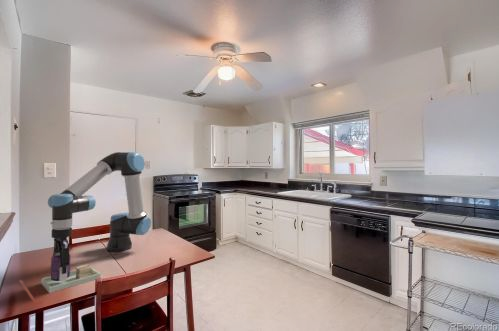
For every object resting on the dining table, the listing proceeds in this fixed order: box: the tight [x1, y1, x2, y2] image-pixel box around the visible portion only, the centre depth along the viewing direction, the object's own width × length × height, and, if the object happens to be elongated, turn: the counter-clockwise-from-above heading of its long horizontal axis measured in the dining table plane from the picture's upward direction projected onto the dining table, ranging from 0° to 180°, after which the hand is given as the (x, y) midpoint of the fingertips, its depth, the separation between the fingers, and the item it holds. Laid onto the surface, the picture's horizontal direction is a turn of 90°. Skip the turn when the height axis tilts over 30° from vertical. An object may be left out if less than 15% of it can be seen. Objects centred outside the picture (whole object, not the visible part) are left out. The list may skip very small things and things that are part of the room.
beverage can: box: [50, 252, 71, 281], centre depth 118 cm, size 7×7×12 cm
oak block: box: [75, 263, 93, 279], centre depth 125 cm, size 5×5×5 cm
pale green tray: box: [41, 267, 101, 294], centre depth 121 cm, size 13×20×3 cm, turn 141°
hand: (60, 277), depth 118 cm, fingers closed on beverage can, 7 cm apart
